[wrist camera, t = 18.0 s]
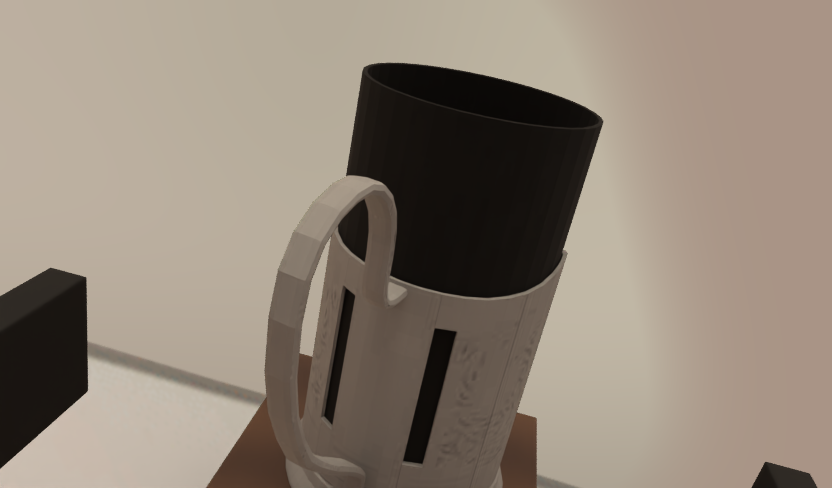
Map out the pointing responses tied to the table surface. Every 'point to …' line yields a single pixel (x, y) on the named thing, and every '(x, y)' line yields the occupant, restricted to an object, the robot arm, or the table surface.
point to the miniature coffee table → (258, 447)
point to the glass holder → (426, 280)
